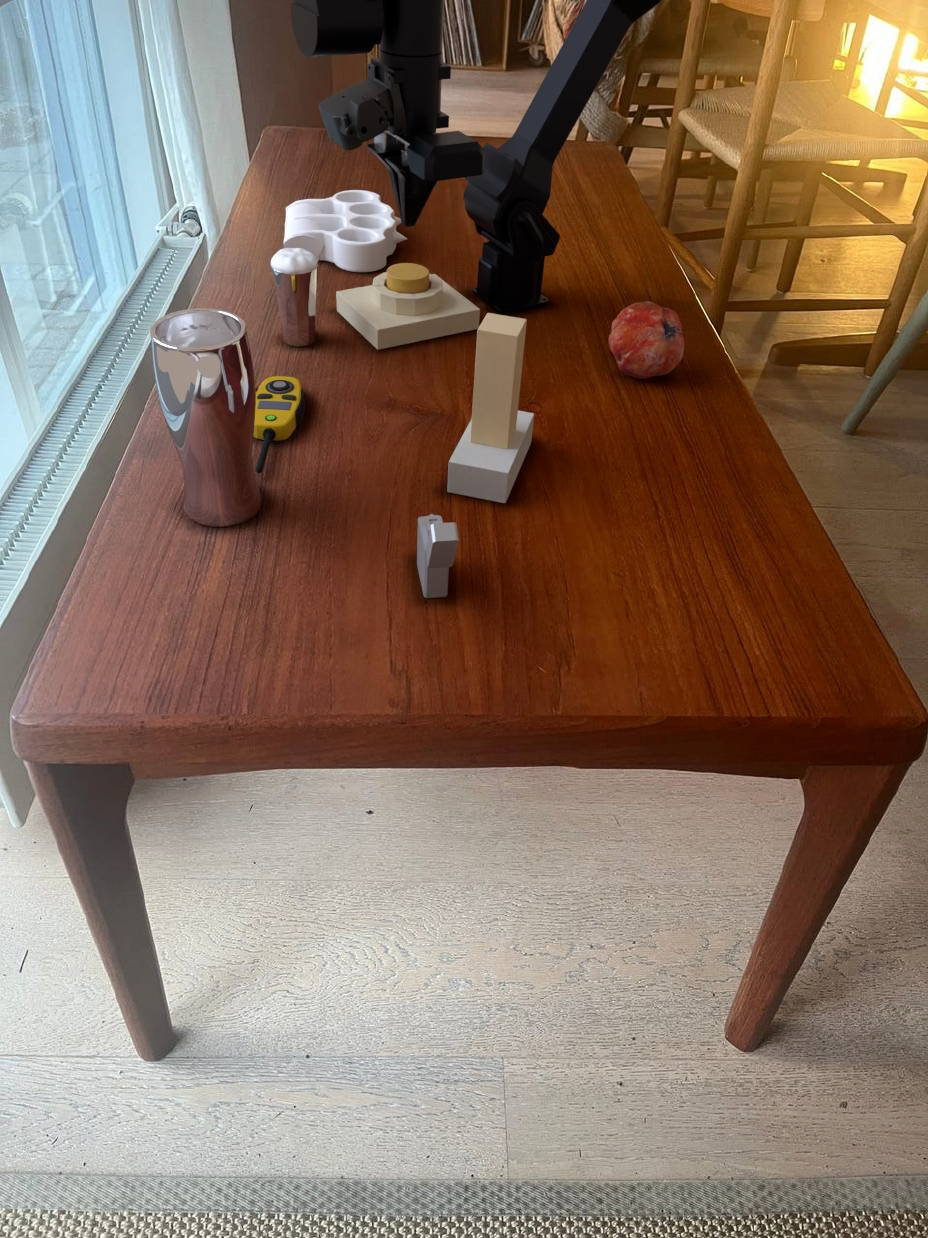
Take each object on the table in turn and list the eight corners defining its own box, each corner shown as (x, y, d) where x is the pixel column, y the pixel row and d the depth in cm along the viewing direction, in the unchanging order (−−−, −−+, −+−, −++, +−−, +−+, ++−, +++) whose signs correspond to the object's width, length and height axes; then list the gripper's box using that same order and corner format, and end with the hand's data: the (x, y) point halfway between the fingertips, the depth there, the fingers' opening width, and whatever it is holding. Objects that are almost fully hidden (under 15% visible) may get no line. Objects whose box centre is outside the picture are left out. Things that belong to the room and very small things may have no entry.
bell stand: (434, 292, 110) (435, 257, 108) (479, 328, 104) (481, 292, 101) (336, 310, 105) (335, 274, 103) (377, 349, 99) (377, 312, 96)
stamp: (531, 442, 87) (546, 303, 79) (505, 503, 80) (519, 357, 71) (477, 432, 88) (487, 293, 79) (447, 492, 81) (454, 346, 72)
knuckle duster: (287, 215, 125) (401, 216, 127) (284, 272, 112) (411, 272, 114) (285, 188, 123) (401, 189, 125) (281, 243, 110) (411, 243, 112)
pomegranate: (589, 387, 100) (638, 369, 91) (586, 314, 100) (634, 288, 90) (653, 387, 102) (707, 369, 93) (650, 316, 102) (704, 291, 92)
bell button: (416, 276, 104) (416, 259, 103) (436, 291, 102) (436, 275, 101) (379, 282, 103) (379, 266, 102) (398, 299, 100) (398, 282, 99)
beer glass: (282, 491, 80) (266, 317, 70) (240, 539, 75) (217, 358, 65) (207, 473, 81) (181, 299, 71) (161, 518, 76) (126, 338, 66)
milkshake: (321, 353, 98) (316, 254, 91) (270, 346, 98) (261, 247, 92) (334, 334, 101) (331, 237, 95) (285, 327, 102) (278, 230, 95)
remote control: (309, 373, 91) (286, 460, 80) (310, 392, 92) (288, 480, 81) (256, 371, 91) (227, 458, 79) (258, 390, 92) (230, 478, 81)
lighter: (416, 562, 74) (418, 473, 68) (439, 561, 74) (442, 472, 69) (430, 625, 68) (433, 534, 63) (454, 623, 69) (459, 532, 63)
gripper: (286, 31, 90) (297, 204, 101) (375, 82, 78) (376, 272, 89) (394, 25, 95) (393, 191, 105) (493, 72, 83) (481, 254, 93)
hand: (408, 225), depth 98 cm, fingers closed
